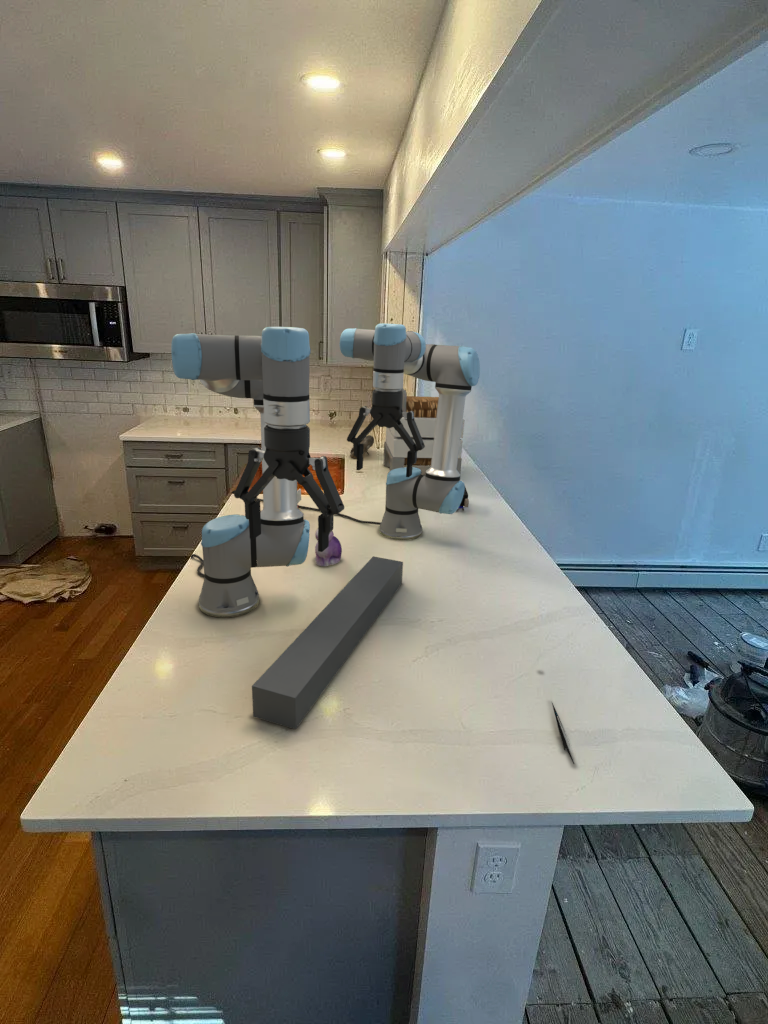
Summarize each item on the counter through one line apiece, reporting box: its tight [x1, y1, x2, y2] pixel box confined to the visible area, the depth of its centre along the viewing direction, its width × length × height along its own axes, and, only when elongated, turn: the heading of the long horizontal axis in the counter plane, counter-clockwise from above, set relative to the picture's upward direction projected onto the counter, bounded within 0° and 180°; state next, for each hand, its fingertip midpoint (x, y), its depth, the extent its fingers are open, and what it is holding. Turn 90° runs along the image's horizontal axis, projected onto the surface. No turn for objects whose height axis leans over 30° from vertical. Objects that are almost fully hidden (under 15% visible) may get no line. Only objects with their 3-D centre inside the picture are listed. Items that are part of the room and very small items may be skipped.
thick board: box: [251, 555, 404, 730], centre depth 135 cm, size 65×9×7 cm, turn 161°
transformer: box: [383, 387, 465, 475], centre depth 268 cm, size 34×33×41 cm
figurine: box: [314, 528, 343, 567], centre depth 173 cm, size 9×10×15 cm
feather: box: [540, 670, 575, 765], centre depth 113 cm, size 2×28×2 cm
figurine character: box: [456, 485, 470, 512], centre depth 229 cm, size 7×8×15 cm
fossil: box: [349, 434, 375, 459], centre depth 303 cm, size 22×10×15 cm
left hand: (288, 542), depth 101 cm, fingers open, 13 cm apart
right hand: (383, 472), depth 147 cm, fingers open, 13 cm apart
